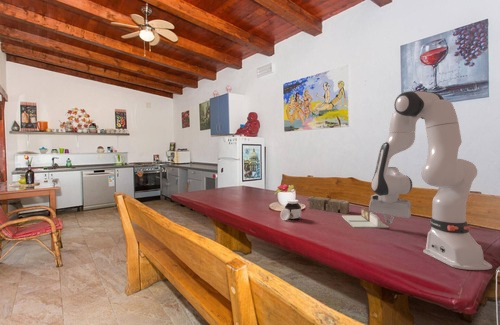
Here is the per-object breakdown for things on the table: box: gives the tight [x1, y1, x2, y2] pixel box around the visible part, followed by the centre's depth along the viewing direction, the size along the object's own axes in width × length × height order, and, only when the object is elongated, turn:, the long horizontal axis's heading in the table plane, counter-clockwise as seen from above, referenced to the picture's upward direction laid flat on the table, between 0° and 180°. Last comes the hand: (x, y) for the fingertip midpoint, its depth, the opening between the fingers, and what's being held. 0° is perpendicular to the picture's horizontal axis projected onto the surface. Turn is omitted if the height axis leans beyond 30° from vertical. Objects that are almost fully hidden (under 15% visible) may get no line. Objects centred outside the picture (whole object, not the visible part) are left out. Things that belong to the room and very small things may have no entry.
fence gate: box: [370, 212, 381, 227], centre depth 149 cm, size 11×1×5 cm, turn 176°
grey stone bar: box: [306, 195, 350, 215], centre depth 187 cm, size 8×8×29 cm
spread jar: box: [279, 199, 302, 221], centre depth 165 cm, size 12×11×12 cm
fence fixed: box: [360, 206, 370, 221], centre depth 161 cm, size 13×2×7 cm, turn 176°
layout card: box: [341, 215, 390, 229], centre depth 157 cm, size 24×19×1 cm
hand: (388, 222), depth 141 cm, fingers closed
